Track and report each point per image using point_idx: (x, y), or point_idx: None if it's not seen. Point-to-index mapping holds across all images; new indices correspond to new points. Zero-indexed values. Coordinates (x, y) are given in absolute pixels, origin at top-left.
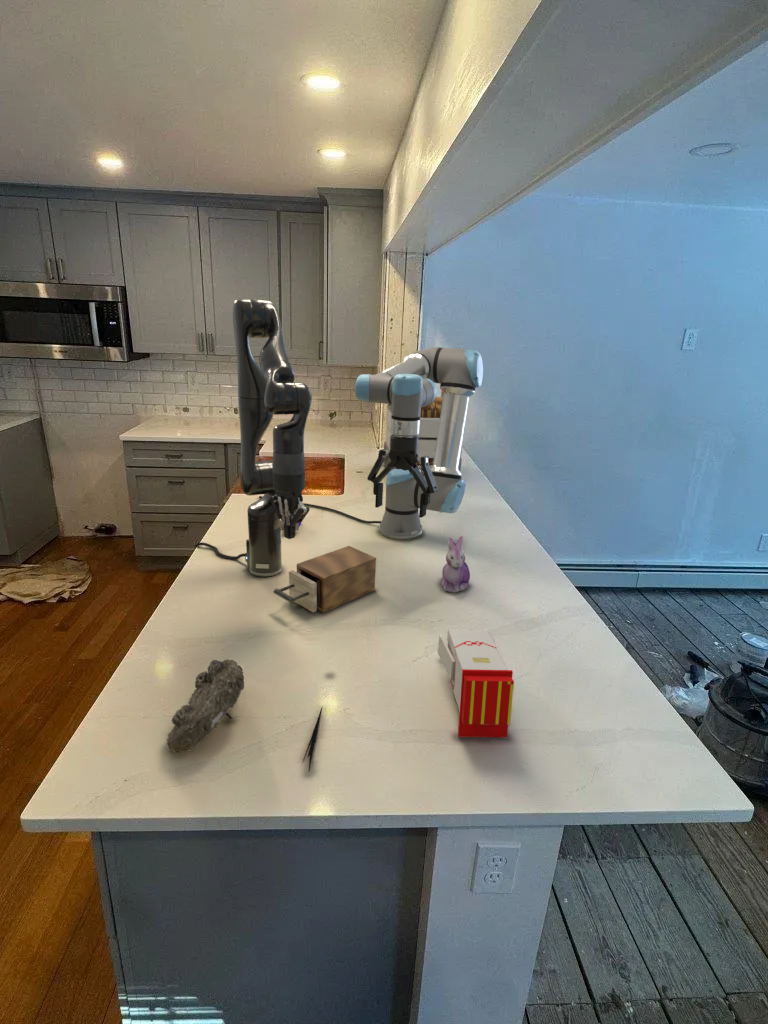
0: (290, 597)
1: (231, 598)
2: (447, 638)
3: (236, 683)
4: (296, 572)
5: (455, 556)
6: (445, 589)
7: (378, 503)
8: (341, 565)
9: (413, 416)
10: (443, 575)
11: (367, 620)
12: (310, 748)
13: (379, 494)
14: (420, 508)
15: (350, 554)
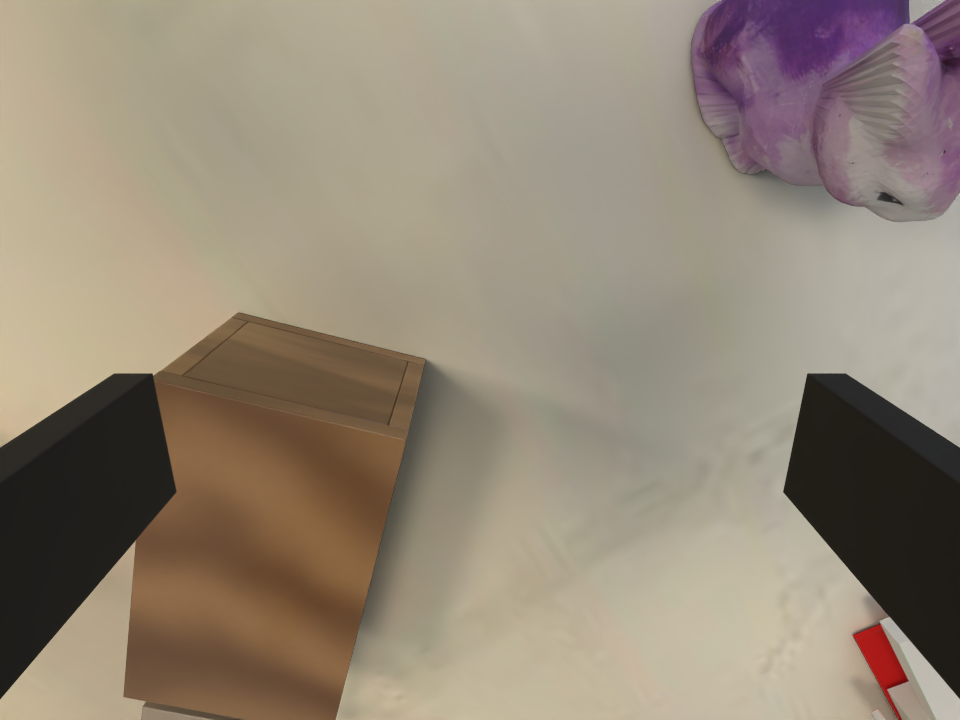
0: None
1: (34, 677)
2: (882, 625)
3: None
4: (175, 714)
5: (929, 201)
6: (743, 171)
7: (146, 506)
8: (308, 610)
9: None
10: (746, 147)
11: (528, 565)
12: None
13: (52, 580)
14: (863, 573)
15: (251, 481)
